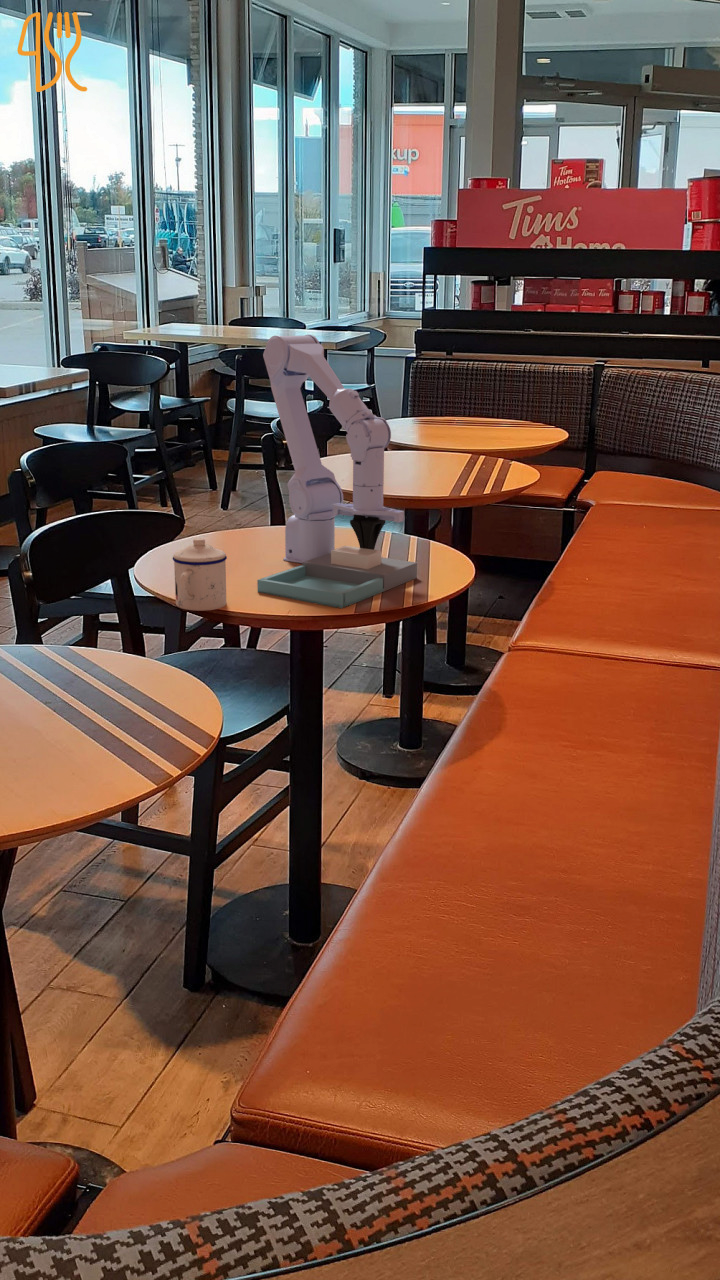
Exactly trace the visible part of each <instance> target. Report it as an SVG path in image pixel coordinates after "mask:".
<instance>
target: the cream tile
mask: <svg viewBox="0 0 720 1280" xmlns="http://www.w3.org/2000/svg"><path fill="white" fill-rule="evenodd" d="M381 559H382V550H377V549H374V550H372V549H365V548H360V547H357V546H350V545H343V546H340V547H338V548H334V550H331V564H337V565H344V566H350V567H357V568H363V569H369V568H372V567H375V566H377V565H380V564H381Z"/></svg>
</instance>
